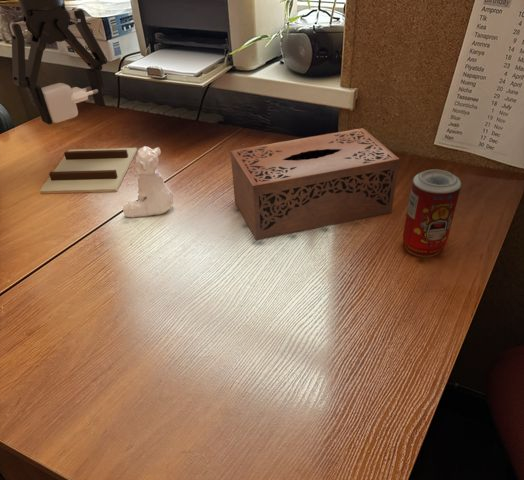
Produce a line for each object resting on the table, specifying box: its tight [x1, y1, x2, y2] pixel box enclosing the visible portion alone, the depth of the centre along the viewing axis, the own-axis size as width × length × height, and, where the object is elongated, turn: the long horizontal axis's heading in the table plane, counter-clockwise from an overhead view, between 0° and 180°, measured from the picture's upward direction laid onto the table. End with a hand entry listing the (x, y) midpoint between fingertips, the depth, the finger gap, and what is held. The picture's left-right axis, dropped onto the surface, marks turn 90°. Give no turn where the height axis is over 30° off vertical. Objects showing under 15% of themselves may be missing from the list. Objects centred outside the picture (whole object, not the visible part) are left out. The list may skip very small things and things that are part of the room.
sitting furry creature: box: [122, 145, 174, 219], centre depth 92 cm, size 10×9×12 cm
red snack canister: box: [402, 168, 462, 258], centre depth 79 cm, size 7×7×12 cm
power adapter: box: [41, 82, 98, 124], centre depth 99 cm, size 11×5×6 cm, turn 134°
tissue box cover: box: [230, 127, 400, 241], centre depth 91 cm, size 26×14×10 cm, turn 107°
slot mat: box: [39, 147, 138, 195], centre depth 109 cm, size 16×20×2 cm
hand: (74, 113), depth 101 cm, fingers closed on power adapter, 11 cm apart
